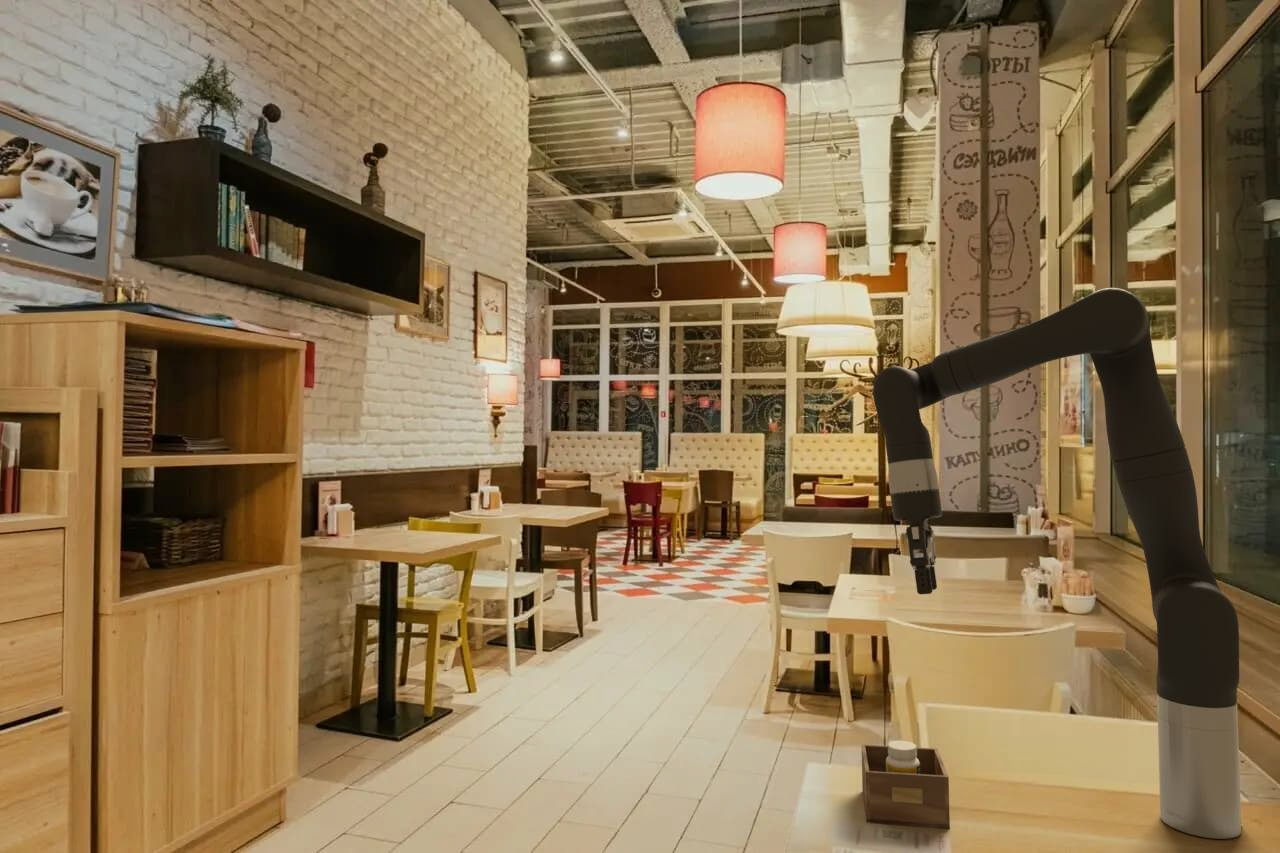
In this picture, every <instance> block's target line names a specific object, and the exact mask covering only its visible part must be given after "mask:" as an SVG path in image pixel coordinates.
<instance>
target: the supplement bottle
mask: <svg viewBox="0 0 1280 853" xmlns="http://www.w3.org/2000/svg"><path fill="white" fill-rule="evenodd" d="M887 746H888V754H889V756H888V757H887V758H886V772H894V773H910V774H920V762H919V760H918V759H917V758H916V757H917V748H918V747H917V745H916V744H915V743H914V742H911V741H906V740H893V741H889V742H888V744H887ZM916 747H917V748H916Z"/></svg>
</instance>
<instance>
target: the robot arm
mask: <svg viewBox="0 0 1280 853" xmlns="http://www.w3.org/2000/svg"><path fill="white" fill-rule="evenodd" d="M1150 327H1151V326H1150V317H1149V313H1148V311H1147V308H1146V306H1145V305H1144V303H1143V301H1142V300H1140V299H1139V297H1138V296H1136V295H1135V294H1134V293H1132V292H1131V291H1128V290H1126V289H1122V288H1118V287H1108V288H1107V287H1106V288H1105V287H1104V288H1102V289H1098V290H1096V291H1093V292H1091V293H1090V294H1088V295H1086V296H1084V297H1082V298H1080V299H1079V300H1077V301H1075V302H1073V303H1071V304H1070V305H1067V306H1065V307H1064V308H1062V309H1060V310H1058V311H1056V312H1054V313H1052V314H1049V315H1047V316H1044V317H1042V318H1041V319H1038V320H1036V321H1034V322H1030V323H1028V324H1026V325H1024V326H1020V327H1017V328H1014V329H1011V330H1009V331H1005V332H1002V333H999V334H995V335H993V336H990V337H986V338H983V339H980V340H977V341H974V342H971V343H968V344H965V345H962V346H959V347H955V348H952V349H949V350H946V351H945V352H942V353H940V354H938V355H936V356H935V357H933V359H932V361H931V362H927V363H926V364H923V365H919V366H917V367H914V368H909V369H908V368H906V367H902V366H898V365H896V366H895V365H892V366H888V367H886V368H884V369H882V370H881V371H880V372H879V373H878V374H877V375H876V377H875V379H874V383H873V388H872V391H873V392H872V393H873V401H874V407H875V410H876V414H877V416H878V420H879V422H880V423H879V424H880V426H881V430H882V432H883V434H884V439H885V441H884V442H885V449H886V457H887V458H886V459H887V464H888V465H887V468H888V470H887V471H888V473H887V474H888V476H887V477H888V486H889V488H888V489H889V494H890V502H891V503H890V504H891V509H892V510H891V511H892V518H893V520H894V521H896V522H902V521H903V522H904V521H907V522H908V523H909V526H906V529H905V531H906V532H905V538H906V542H907V546H908V548H907V550H908V551H907V552H908V555H909V558H910V560H909V564H910V565H911V567H912V570H914V577H915V584H916V585H915V586H916V592H917V594H918V595H931V594H932V593H933V590H936V589H937V588H938V584H937V577H936V570H935V565H936V559H937V556H936V545H935V532H934V529H932V526H931V524H928V520H929V519H937V518H941V517H942V516H943V508H942V503H941V502H942V501H941V495H940V488H939V482H938V473H937V470H936V467H935V462H934V457H933V456H934V455H933V448H932V441H931V436H930V433H929V429H928V428H927V427H926V426H925V424H924V423H923V421H922V418H921V413H920V410H922V409H925V408H927V407H930V406H932V405H934V404H937V403H939V402H942V401H943V400H945V399H947V398H949V397H952V396H955V395H961V394H964V393H966V392H970V391H973V390H977V389H980V388H983V387H986V386H989V385H992V384H996V383H998V382H1000V381H1003V380H1006V379H1008V378H1011V377H1013V376H1015V375H1018V374H1019V373H1022V372H1025V371H1026V370H1029V369H1031V368H1034V367H1036V366H1037V367H1038V366H1040V365H1042V364H1046V363H1049V362H1052V361H1056V360H1059V359H1063V358H1064V359H1065V358H1069V357H1074V356H1079V355H1086V354H1089V356H1090V358H1091V359H1090V360H1091V361H1092V364H1093V366H1094V369H1095V371H1096V374H1097V377H1098V380H1099V382H1100V386H1101V389H1102V390H1101V391H1102V394H1103V400H1104V401H1103V402H1104V413H1105V427H1106V436H1107V443H1108V449H1109V454H1110V458H1111V461H1112V466H1113V470H1114V473H1115V474H1114V475H1115V477H1116V482H1117V484H1118V488H1119V490H1120V493H1121V494H1120V495H1121V496H1122V498H1123V503H1124V505H1125V508H1126V510H1127V512H1128V516H1129V518H1130V519H1131V522H1132V524H1133V526H1134V529H1135V532H1136V534H1137V536H1138V539H1139V541H1140V543H1141V547H1142V550H1143V554H1144V558H1145V563H1146V569H1147V575H1148V580H1149V581H1148V582H1149V587H1150V596H1151V606H1152V614H1153V617H1154V620H1155V622H1156V633H1157V634H1156V638H1157V641H1156V642H1157V670H1156V676H1155V678H1156V680H1155V681H1156V682H1155V683H1156V706H1157V708H1156V709H1157V711H1156V712H1157V734H1158V735H1157V736H1158V738H1157V742H1158V769H1159V770H1158V772H1159V776H1158V778H1159V812H1160V813H1159V817H1160V819H1161V820H1162V821H1163V823H1165V824H1166V825H1167V826H1169V827H1171V828H1173V829H1175V830H1178V831H1180V832H1183V833H1186V834H1189V835H1193V836H1195V837H1196V836H1197V837H1201V838H1207V839H1215V840H1216V839H1217V840H1220V839H1221V840H1223V839H1224V840H1226V839H1233V838H1236V837H1238V836H1240V835H1241V833H1242V831H1241V830H1242V827H1241V825H1242V804H1241V774H1240V773H1241V772H1240V769H1241V768H1240V755H1239V754H1240V752H1239V751H1240V750H1239V724H1238V723H1239V722H1238V721H1239V720H1238V687H1239V683H1240V632H1239V631H1240V630H1239V625H1240V624H1239V618H1238V614H1237V611H1236V609H1235V607H1234V605H1233V603H1232V602H1231V600H1230V599H1229V598H1228V597H1227V596H1226V595H1225V594H1224V593H1223V592H1222V591H1221V589H1220V587H1219V585H1218V584H1219V583H1218V582H1217V580H1216V578H1215V575H1214V573H1213V570H1212V568H1211V564H1210V562H1209V560H1208V556H1207V554H1206V551H1205V548H1204V546H1203V541H1202V538H1201V531H1200V521H1199V518H1200V517H1199V506H1198V505H1199V504H1198V495H1197V488H1196V482H1195V478H1194V474H1193V469H1192V465H1191V462H1190V459H1189V455H1188V450H1187V448H1186V445H1185V441H1184V438H1183V435H1182V433H1181V428H1180V426H1179V425H1178V421H1177V419H1176V416H1175V413H1174V411H1173V409H1172V407H1171V405H1170V402H1169V401H1168V398H1167V394H1165V391H1164V389H1163V387H1162V384H1161V382H1160V378H1159V374H1158V370H1157V366H1156V360H1155V354H1154V351H1153V350H1154V349H1153V342H1152V336H1151V329H1150Z"/></svg>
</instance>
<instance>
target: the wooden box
mask: <svg viewBox="0 0 1280 853" xmlns="http://www.w3.org/2000/svg"><path fill="white" fill-rule="evenodd" d="M916 748H917V757H916V758H917V759H918V760H919V762H920V774H910V773H894V772H886V758H887V757H888V756H889V754H888V745H875V744H861V776H862V777H861V780H862V781H861V783H862V788H861V789H862V798H863V805H864V812H865V820H866V823H868V824H879V825H880V824H881V825H892V826H893V825H894V826H896V825H897V826H906V827H922V828H934V829H935V828H936V829H951V827H950V826H951V825H950V819H951V818H950V816H951V815H950V788H949V787H950V785H949V783H950V782H949V781H950V780H949V778H950V777H949V775H948V772H947V769H946V767H945V764H944V762H943V759H942V757H941V755H940V754H941V753H940V752H939V749H938V748H936V747H935V748H933V747H932V748H931V747H917V746H916Z"/></svg>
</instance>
